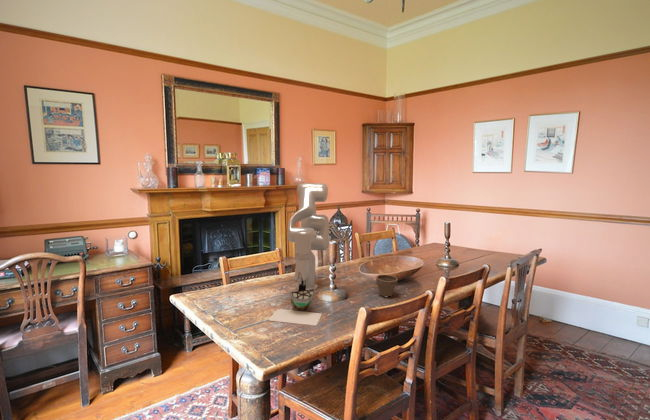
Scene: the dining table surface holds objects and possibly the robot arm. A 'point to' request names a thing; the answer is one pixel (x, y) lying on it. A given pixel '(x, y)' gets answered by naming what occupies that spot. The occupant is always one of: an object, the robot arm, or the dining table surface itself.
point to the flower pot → (386, 284)
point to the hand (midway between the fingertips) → (302, 292)
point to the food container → (301, 298)
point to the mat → (296, 317)
